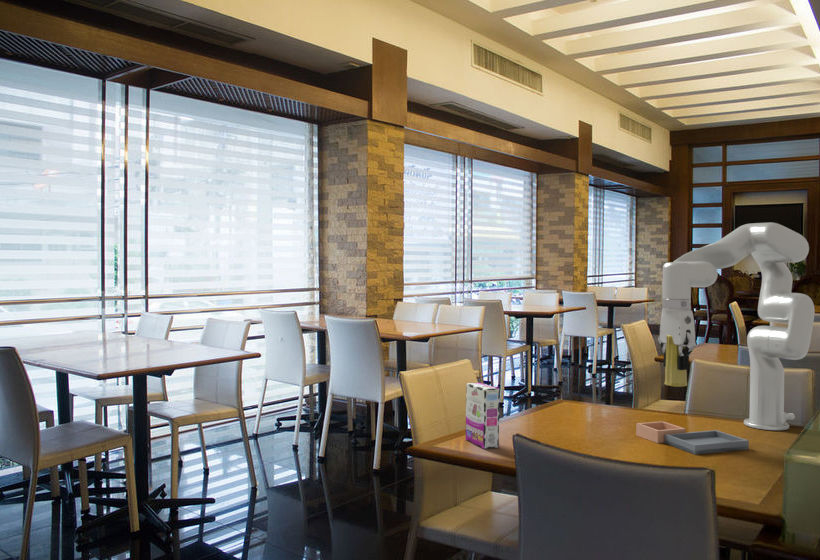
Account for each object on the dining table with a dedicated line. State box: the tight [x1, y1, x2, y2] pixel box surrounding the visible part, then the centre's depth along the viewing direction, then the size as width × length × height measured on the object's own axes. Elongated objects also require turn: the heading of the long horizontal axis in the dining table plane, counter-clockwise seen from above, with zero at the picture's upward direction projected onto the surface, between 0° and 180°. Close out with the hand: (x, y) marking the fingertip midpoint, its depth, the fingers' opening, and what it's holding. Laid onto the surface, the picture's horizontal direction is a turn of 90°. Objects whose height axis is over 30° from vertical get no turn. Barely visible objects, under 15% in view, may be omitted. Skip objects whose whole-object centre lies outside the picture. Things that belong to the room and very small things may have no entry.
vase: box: [664, 335, 688, 388], centre depth 191 cm, size 6×6×14 cm
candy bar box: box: [465, 382, 501, 450], centre depth 186 cm, size 11×5×16 cm, turn 23°
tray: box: [663, 429, 750, 456], centre depth 185 cm, size 18×12×2 cm, turn 108°
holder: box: [635, 421, 687, 444], centre depth 194 cm, size 10×10×4 cm
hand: (676, 367), depth 191 cm, fingers closed on vase, 5 cm apart
